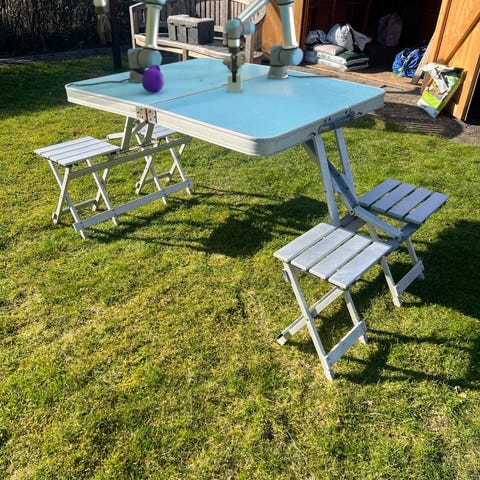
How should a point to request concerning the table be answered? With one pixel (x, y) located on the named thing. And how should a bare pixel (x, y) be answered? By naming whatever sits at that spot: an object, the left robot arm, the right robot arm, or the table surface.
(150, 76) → the toy
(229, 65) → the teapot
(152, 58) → the left robot arm
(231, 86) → the brick
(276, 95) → the table surface
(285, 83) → the table surface
